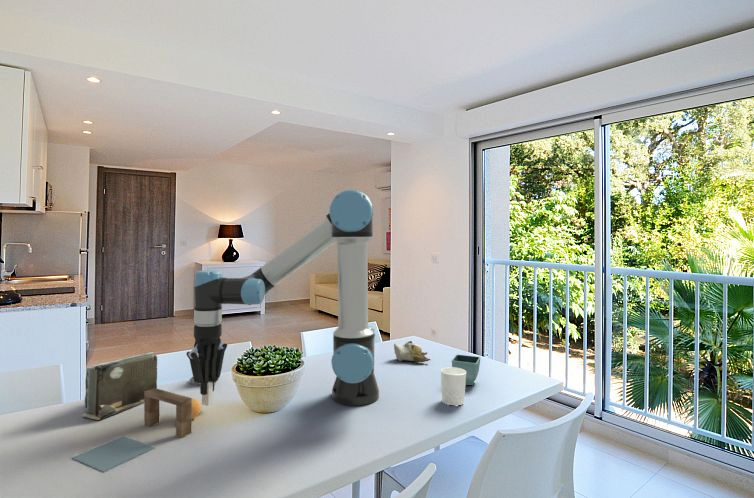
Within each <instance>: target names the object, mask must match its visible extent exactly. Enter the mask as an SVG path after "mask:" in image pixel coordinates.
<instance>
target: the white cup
mask: <svg viewBox="0 0 754 498" xmlns="http://www.w3.org/2000/svg"><path fill="white" fill-rule="evenodd" d="M440 385H441V387H440V388H441V402H442V403H443V404H444V403H445V404H444V405H446V404H447V405H446V406H449V405H461V406H462V404H463V403H465V392H466V371H465V370H464V369H461V368H456V367H452V366H450V367H449V366H448V367H443V368H441V370H440ZM463 405H464V404H463Z"/></svg>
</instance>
